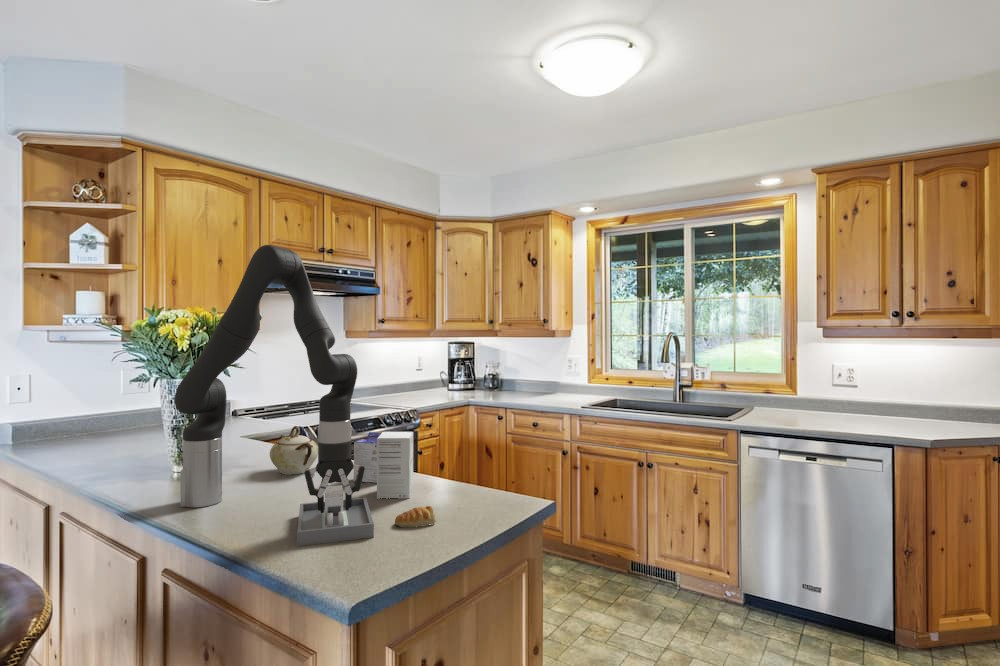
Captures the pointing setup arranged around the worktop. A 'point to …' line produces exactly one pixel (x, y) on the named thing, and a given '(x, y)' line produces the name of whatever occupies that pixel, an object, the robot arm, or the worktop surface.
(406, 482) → the supplement box
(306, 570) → the worktop surface
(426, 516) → the pastry
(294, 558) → the worktop surface
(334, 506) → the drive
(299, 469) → the sugar bowl
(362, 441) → the ink cartridge box
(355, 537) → the guide tray
